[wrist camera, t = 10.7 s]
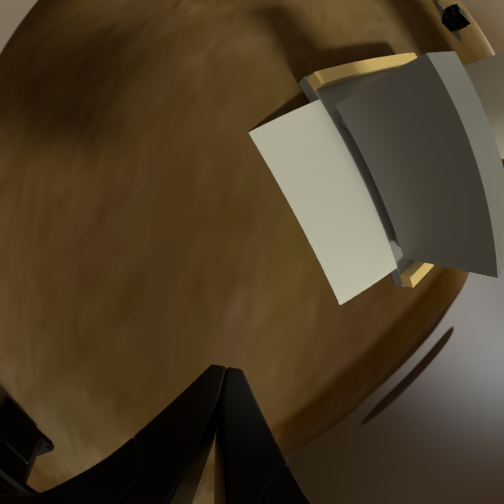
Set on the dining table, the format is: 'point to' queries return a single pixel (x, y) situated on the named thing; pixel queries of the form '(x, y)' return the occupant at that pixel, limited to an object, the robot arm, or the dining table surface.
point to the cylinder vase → (490, 92)
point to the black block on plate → (453, 18)
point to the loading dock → (337, 182)
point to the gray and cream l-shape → (433, 162)
